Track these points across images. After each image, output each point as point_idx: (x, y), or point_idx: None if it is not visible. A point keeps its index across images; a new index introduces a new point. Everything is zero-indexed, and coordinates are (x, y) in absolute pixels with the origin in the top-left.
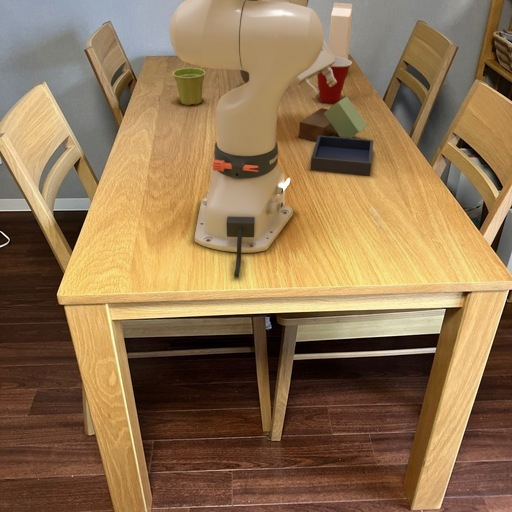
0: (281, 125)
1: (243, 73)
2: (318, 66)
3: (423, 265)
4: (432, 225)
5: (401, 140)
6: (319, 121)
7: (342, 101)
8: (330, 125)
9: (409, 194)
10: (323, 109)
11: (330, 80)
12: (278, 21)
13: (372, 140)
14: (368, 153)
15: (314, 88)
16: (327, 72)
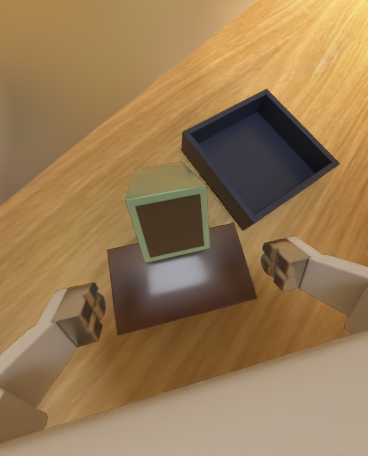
0: None
1: None
2: (209, 448)
3: (347, 5)
4: (288, 21)
5: (97, 140)
6: (212, 259)
7: (177, 187)
8: None
9: (253, 58)
10: (124, 319)
11: (89, 312)
12: None
13: (186, 131)
14: (200, 142)
15: (312, 252)
16: (20, 400)
